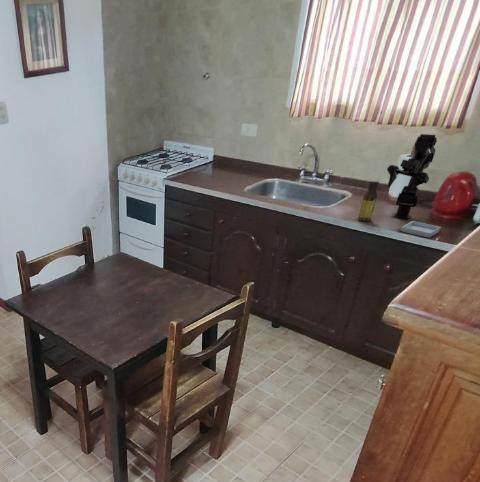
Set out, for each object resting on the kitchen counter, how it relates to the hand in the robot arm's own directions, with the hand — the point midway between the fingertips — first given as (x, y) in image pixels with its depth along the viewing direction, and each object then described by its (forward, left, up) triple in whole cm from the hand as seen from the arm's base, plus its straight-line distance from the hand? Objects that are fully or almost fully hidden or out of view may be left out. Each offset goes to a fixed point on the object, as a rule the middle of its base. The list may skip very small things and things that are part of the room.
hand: (396, 189), depth 234 cm
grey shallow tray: (+4, +15, -17) cm, 23 cm away
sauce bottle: (-2, -11, -17) cm, 21 cm away
